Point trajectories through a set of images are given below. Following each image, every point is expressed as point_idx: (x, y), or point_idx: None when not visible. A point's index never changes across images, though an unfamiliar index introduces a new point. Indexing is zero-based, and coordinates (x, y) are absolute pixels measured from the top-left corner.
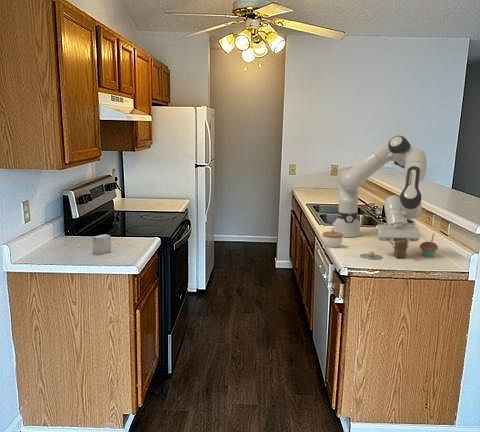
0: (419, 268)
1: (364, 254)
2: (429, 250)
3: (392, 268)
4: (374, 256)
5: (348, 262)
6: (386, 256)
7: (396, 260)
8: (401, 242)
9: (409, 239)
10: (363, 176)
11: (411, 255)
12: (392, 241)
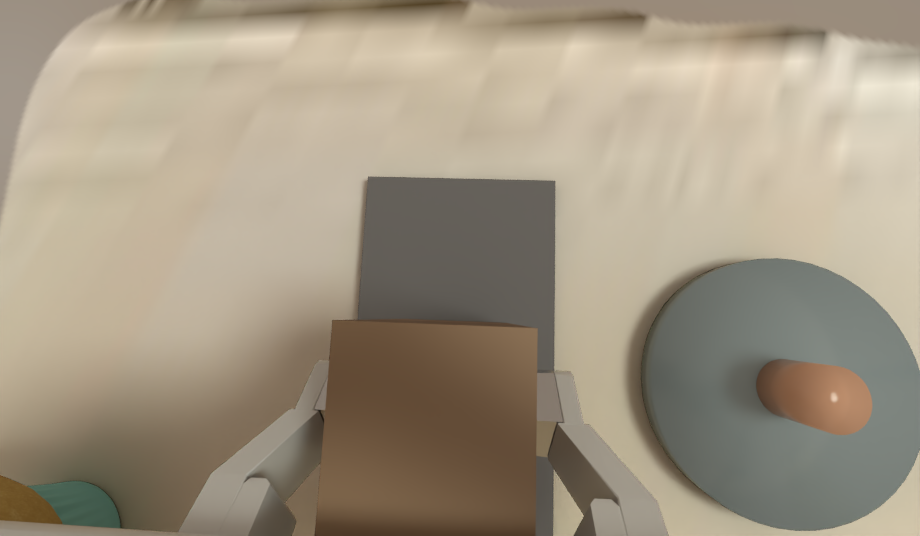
0: (377, 80)
1: (855, 489)
2: (12, 481)
3: (626, 66)
4: (745, 397)
5: None
6: None
7: None
8: (457, 326)
9: (193, 510)
10: None
11: None
12: (610, 467)
